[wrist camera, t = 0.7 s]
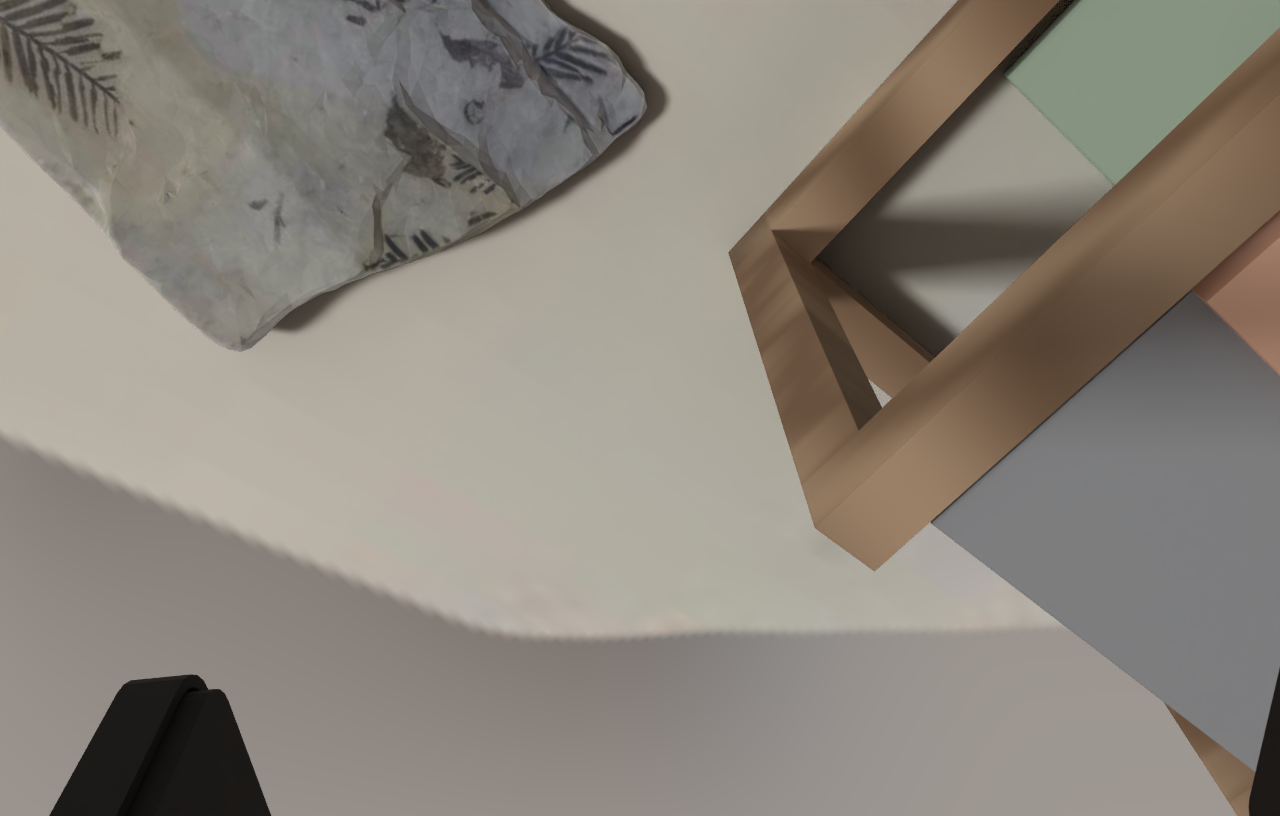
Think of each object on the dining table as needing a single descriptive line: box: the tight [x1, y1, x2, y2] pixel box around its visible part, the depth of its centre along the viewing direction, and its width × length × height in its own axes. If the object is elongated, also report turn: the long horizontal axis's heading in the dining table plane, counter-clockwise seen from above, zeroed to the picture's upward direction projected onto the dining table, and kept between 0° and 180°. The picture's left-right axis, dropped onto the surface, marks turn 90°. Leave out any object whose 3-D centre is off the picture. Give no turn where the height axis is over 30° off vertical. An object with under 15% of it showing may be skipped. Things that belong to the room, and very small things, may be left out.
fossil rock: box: [0, 0, 647, 352], centre depth 30 cm, size 18×15×2 cm
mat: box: [1003, 0, 1280, 186], centre depth 31 cm, size 11×11×1 cm
